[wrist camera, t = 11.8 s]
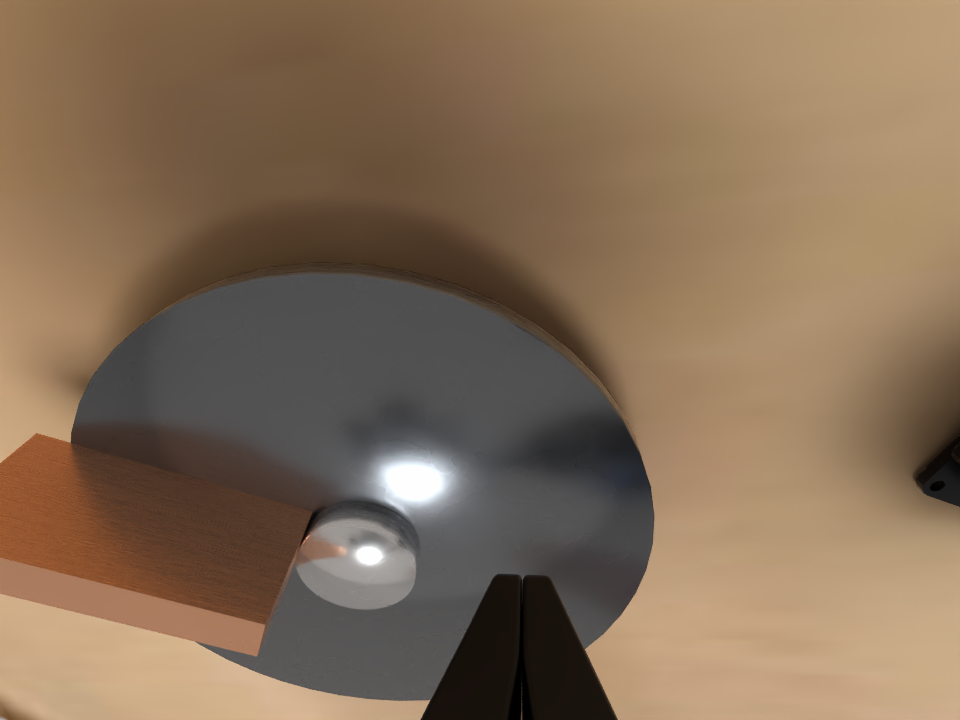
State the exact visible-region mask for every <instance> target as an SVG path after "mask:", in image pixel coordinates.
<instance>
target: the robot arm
mask: <svg viewBox="0 0 960 720" xmlns="http://www.w3.org/2000/svg"><path fill="white" fill-rule="evenodd" d="M915 483H916V485H917V486H918V487H919V488H920V490H921V491H922V492H923V493H924V494H926V495H928V496H931V497H933V498H936V499H939V500H942V501H945V502H948V503H951V504H953V505H956V506H959V507H960V436H959V437H958V438H957V439H956V440H955V441H954V442H953V443H952V444H951V445H950V446H949V447H948V448H947V449H946V450H944V451H943V452H942V453H941V454H940V455H939V456H938V457H937V458H936V459H935V460H934V461H933V462H932V463H931V464H930V465H929V466H928V467H927V468H926V469H925V470H924V471H923V472H921V473H920V474H919V476H918V477H917V478H916V482H915ZM521 717H522V720H618V719H617V717H616V715H615V713H614V710H613V708H612V706H611V704H610V702H609V700H608V698H607V696H606V693H605V691H604V689H603V687H602V685H601V683H600V681H599V679H598V676H597V674H596V672H595V670H594V668H593V666H592V664H591V662H590V659H589V657H588V655H587V653H586V651H585V649H584V647H583V645H582V642H581V640H580V638H579V636H578V634H577V632H576V630H575V628H574V625H573V623H572V621H571V619H570V617H569V615H568V613H567V611H566V608H565V606H564V604H563V602H562V600H561V598H560V596H559V594H558V591H557V589H556V587H555V585H554V583H553V581H552V579H551V578H550V577H549V576H546V575H525V576H524V577H523V582H522V578H521V576H520V575H517V574H496V575H495V576H494V577H493V578H492V580H491V582H490V584H489V586H488V588H487V590H486V592H485V594H484V596H483V598H482V600H481V602H480V604H479V606H478V608H477V610H476V612H475V614H474V616H473V618H472V620H471V622H470V624H469V626H468V627H467V629H466V631H465V633H464V635H463V637H462V639H461V641H460V643H459V645H458V647H457V649H456V651H455V653H454V655H453V657H452V659H451V661H450V663H449V665H448V667H447V669H446V671H445V673H444V675H443V677H442V679H441V681H440V683H439V685H438V686H437V688H436V690H435V692H434V694H433V696H432V698H431V700H430V702H429V704H428V706H427V708H426V710H425V712H424V714H423V716H422V718H421V720H521Z"/></svg>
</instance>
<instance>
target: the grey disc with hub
mask: <svg viewBox="0 0 960 720" xmlns="http://www.w3.org/2000/svg"><path fill="white" fill-rule="evenodd" d="M653 530H654V509H653V501H652V493H651V486H650V483H649V480H648V477H647V474H646V471H645V467H644V464H643V461H642V458H641V455H640V452H639V449H638V445H637V442H636V439H635V436H634V434H633V432H632V430H631V428H630V426H629V425H628V423H627V421H626V419H625V417H624V415H623V413H622V411H621V409H620V407H619V406H618V404H617V403H616V402H615V400H614V399H613V397H612V396H611V395H610V393H609V392H608V391H607V389H606V388H605V387H604V385H603V384H602V382H601V381H600V380H599V378H598V377H597V376H596V375H595V374H594V373H593V372H592V371H591V370H590V369H589V368H588V367H587V366H586V365H585V364H584V363H583V362H582V361H581V360H580V359H579V358H578V357H577V356H576V355H575V354H574V353H573V352H572V351H571V350H570V349H569V348H567V347H566V346H565V345H563V344H562V343H561V342H560V341H558V340H557V339H556V338H554V337H553V336H552V335H550V334H549V333H548V332H546V331H545V330H544V329H543V328H541V327H540V326H539V325H537V324H536V323H534V322H532V321H530V320H529V319H527V318H525V317H524V316H522V315H520V314H518V313H517V312H515V311H513V310H511V309H510V308H508V307H506V306H504V305H503V304H501V303H499V302H497V301H495V300H492V299H490V298H488V297H485V296H483V295H480V294H478V293H476V292H473V291H471V290H469V289H466V288H464V287H462V286H459V285H457V284H454V283H450V282H446V281H443V280H439V279H436V278H432V277H429V276H425V275H422V274H418V273H415V272H411V271H406V270H399V269H393V268H387V267H380V266H374V265H368V264H351V263H321V262H316V263H305V264H295V265H284V266H274V267H269V268H264V269H260V270H256V271H252V272H247V273H243V274H239V275H235V276H230V277H228V278H225V279H223V280H220V281H218V282H215V283H213V284H210V285H208V286H205V287H203V288H200V289H198V290H195V291H193V292H191V293H189V294H188V295H186V296H184V297H183V298H181V299H179V300H178V301H176V302H174V303H173V304H171V305H169V306H168V307H166V308H164V309H163V310H161V311H159V312H158V313H157V314H156V315H154V316H153V317H152V318H150V319H149V320H148V321H146V322H145V323H144V324H143V325H141V326H140V327H139V328H138V329H137V330H135V331H134V332H133V333H132V334H131V335H130V336H128V337H127V338H126V339H125V340H124V341H123V342H121V343H120V344H119V345H118V346H117V347H116V348H115V349H113V351H112V352H111V353H110V355H109V356H108V357H107V358H106V360H105V361H104V362H103V363H102V365H101V366H100V367H99V368H98V370H97V371H96V372H95V374H94V375H93V377H92V379H91V381H90V383H89V385H88V387H87V388H86V390H85V392H84V394H83V396H82V398H81V400H80V402H79V406H78V409H77V413H76V417H75V421H74V424H73V428H72V432H71V443H69V442H65V441H62V440H58V439H55V438H51V437H48V436H44V435H41V434H37V433H36V434H35V435H34V436H33V437H32V438H30V439H29V440H28V441H27V442H25V443H24V444H23V445H22V446H21V447H19V448H18V449H17V450H16V451H15V452H13V453H12V454H11V455H10V456H9V457H7V458H6V459H5V460H4V461H2V462H1V463H0V594H4V595H8V596H12V597H16V598H20V599H24V600H28V601H32V602H37V603H41V604H45V605H49V606H53V607H57V608H61V609H65V610H69V611H73V612H77V613H81V614H85V615H90V616H94V617H98V618H102V619H106V620H110V621H114V622H118V623H122V624H126V625H130V626H134V627H138V628H143V629H147V630H151V631H155V632H159V633H163V634H167V635H171V636H175V637H179V638H183V639H187V640H191V641H195V642H197V643H198V644H200V645H202V646H203V647H205V648H207V649H209V650H211V651H213V652H214V653H216V654H218V655H220V656H222V657H224V658H226V659H228V660H230V661H232V662H234V663H237V664H239V665H241V666H243V667H246V668H248V669H250V670H253V671H255V672H258V673H261V674H263V675H266V676H269V677H272V678H275V679H277V680H280V681H283V682H287V683H290V684H294V685H298V686H301V687H305V688H308V689H312V690H317V691H322V692H327V693H332V694H337V695H343V696H351V697H358V698H366V699H379V700H396V701H409V700H431V698H432V696H433V694H434V692H435V690H436V688H437V686H438V685H439V683H440V681H441V679H442V677H443V675H444V673H445V671H446V669H447V667H448V665H449V663H450V661H451V659H452V657H453V655H454V653H455V651H456V649H457V647H458V645H459V643H460V641H461V639H462V637H463V635H464V633H465V631H466V629H467V627H468V626H469V624H470V622H471V620H472V618H473V616H474V614H475V612H476V610H477V608H478V606H479V604H480V602H481V600H482V598H483V596H484V594H485V592H486V590H487V588H488V586H489V584H490V582H491V580H492V578H493V577H494V576H495V575H496V574H517V575H520V576H521V578H522V582H523V577H524V576H525V575H546V576H549V577H550V578H551V579H552V581H553V583H554V585H555V587H556V589H557V591H558V594H559V596H560V598H561V600H562V602H563V604H564V606H565V608H566V611H567V613H568V615H569V617H570V619H571V621H572V623H573V625H574V628H575V630H576V632H577V634H578V636H579V638H580V640H581V642H582V645H583V647H584V649H586V648H587V647H588V646H589V645H590V644H592V643H593V642H594V641H595V640H597V639H598V638H599V637H600V636H601V635H603V634H604V633H605V632H606V631H607V629H608V628H609V627H610V626H611V625H612V624H613V623H614V622H615V621H616V620H617V619H618V618H619V616H620V615H621V614H622V613H623V611H624V610H625V608H626V607H627V605H628V604H629V602H630V601H631V599H632V598H633V596H634V595H635V593H636V591H637V589H638V587H639V584H640V582H641V580H642V578H643V576H644V573H645V571H646V568H647V564H648V560H649V557H650V553H651V549H652V545H653Z"/></svg>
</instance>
